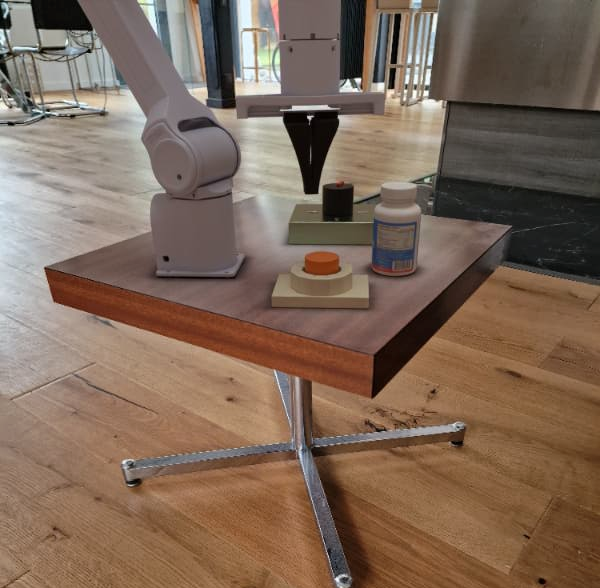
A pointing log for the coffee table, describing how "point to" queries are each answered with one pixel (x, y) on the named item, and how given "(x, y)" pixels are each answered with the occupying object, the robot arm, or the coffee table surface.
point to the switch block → (321, 289)
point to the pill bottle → (396, 230)
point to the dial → (337, 199)
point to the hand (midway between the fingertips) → (310, 192)
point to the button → (321, 263)
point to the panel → (331, 225)
